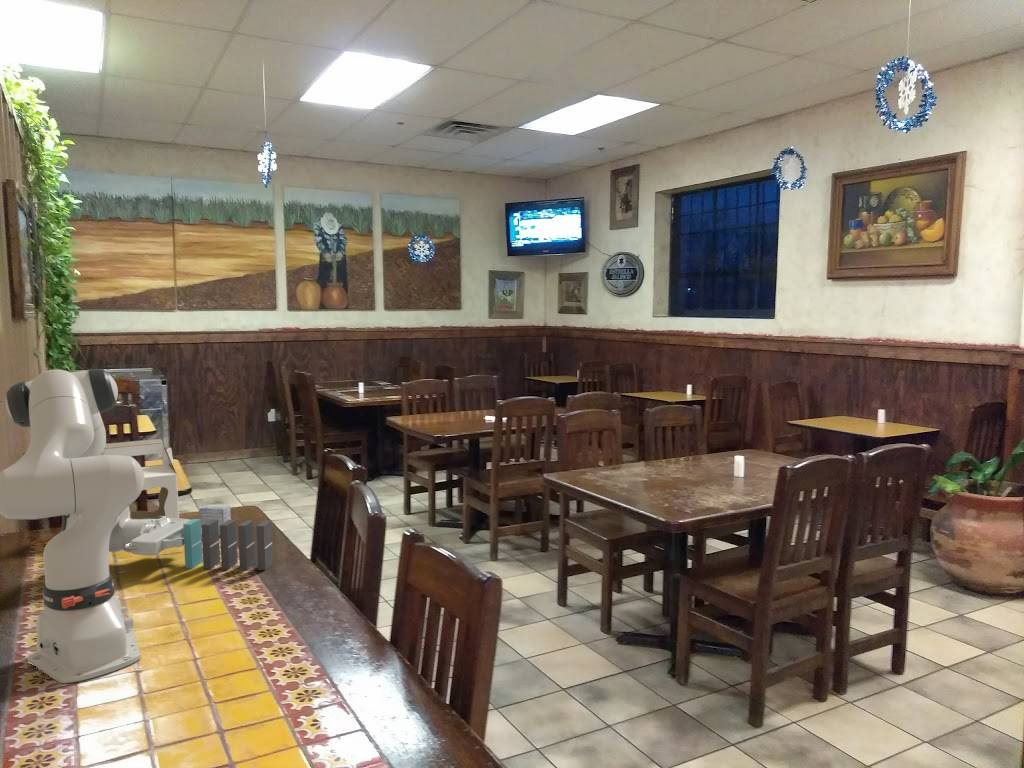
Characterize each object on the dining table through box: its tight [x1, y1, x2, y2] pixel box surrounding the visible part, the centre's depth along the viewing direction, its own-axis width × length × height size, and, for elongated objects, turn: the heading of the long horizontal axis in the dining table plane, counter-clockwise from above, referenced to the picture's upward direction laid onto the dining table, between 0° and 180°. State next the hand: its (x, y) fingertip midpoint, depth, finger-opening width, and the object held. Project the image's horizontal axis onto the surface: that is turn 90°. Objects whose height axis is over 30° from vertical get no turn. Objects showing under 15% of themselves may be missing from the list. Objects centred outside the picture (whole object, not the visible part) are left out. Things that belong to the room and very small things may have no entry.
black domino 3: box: [237, 519, 257, 570], centre depth 191 cm, size 2×5×12 cm, turn 175°
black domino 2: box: [219, 519, 239, 570], centre depth 191 cm, size 2×5×12 cm, turn 175°
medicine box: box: [198, 504, 232, 537], centre depth 219 cm, size 8×4×9 cm, turn 84°
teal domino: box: [183, 518, 203, 569], centre depth 192 cm, size 2×5×12 cm, turn 174°
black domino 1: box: [201, 519, 221, 570], centre depth 191 cm, size 2×5×12 cm, turn 175°
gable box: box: [101, 438, 180, 519], centre depth 223 cm, size 22×13×28 cm, turn 124°
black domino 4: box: [255, 520, 274, 571], centre depth 190 cm, size 2×5×12 cm, turn 175°
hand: (192, 537), depth 192 cm, fingers open, 8 cm apart
